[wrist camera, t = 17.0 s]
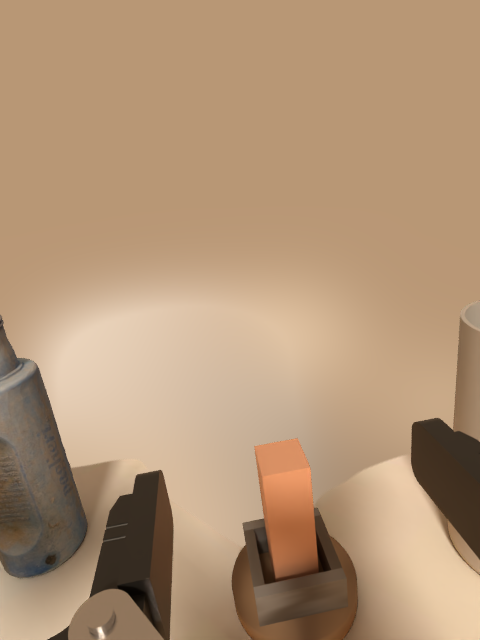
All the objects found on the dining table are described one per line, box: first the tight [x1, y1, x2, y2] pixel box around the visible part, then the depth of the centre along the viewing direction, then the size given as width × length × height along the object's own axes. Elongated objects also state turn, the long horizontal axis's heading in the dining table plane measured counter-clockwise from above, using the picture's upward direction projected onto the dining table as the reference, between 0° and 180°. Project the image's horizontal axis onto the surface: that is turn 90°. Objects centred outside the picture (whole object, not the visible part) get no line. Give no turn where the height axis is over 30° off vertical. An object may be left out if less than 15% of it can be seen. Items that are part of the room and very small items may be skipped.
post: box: [255, 439, 319, 582], centre depth 36 cm, size 4×4×14 cm
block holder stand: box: [232, 508, 358, 640], centre depth 38 cm, size 12×12×6 cm
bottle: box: [0, 315, 87, 578], centre depth 44 cm, size 10×10×30 cm
